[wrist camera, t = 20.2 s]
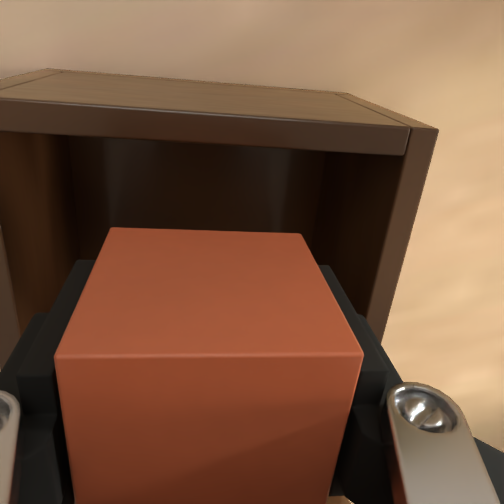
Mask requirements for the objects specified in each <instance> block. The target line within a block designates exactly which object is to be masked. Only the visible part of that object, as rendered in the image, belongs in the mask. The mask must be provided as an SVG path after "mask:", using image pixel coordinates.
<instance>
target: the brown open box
mask: <svg viewBox="0 0 504 504" xmlns="http://www.w3.org/2000/svg"><path fill="white" fill-rule="evenodd" d="M438 133H439V130H438V129H437V128H434V127H432V126H429V125H427V124H424V123H422V122H419V121H417V120H414V119H412V118H409V117H407V116H404V115H401V114H399V113H396V112H394V111H391V110H389V109H386V108H384V107H381V106H379V105H376V104H373V103H371V102H368V101H366V100H363V99H361V98H358V97H356V96H353V95H351V94H348V93H340V92H327V91H315V90H303V89H291V88H279V87H266V86H254V85H242V84H230V83H218V82H206V81H193V80H181V79H169V78H157V77H145V76H132V75H120V74H108V73H96V72H84V71H71V70H59V69H43V70H39V71H35V72H31V73H26V74H22V75H18V76H13V77H9V78H5V79H0V370H2V369H3V367H4V365H5V363H6V362H7V360H8V358H9V357H10V355H11V353H12V351H13V350H14V348H15V346H16V344H17V343H18V341H19V339H20V338H21V336H22V334H23V332H24V331H25V329H26V327H27V325H28V324H29V322H30V320H31V318H32V317H33V316H34V314H36V313H49V312H50V310H51V308H52V306H53V304H54V302H55V300H56V298H57V296H58V294H59V293H60V291H61V289H62V287H63V285H64V283H65V281H66V279H67V277H68V275H69V274H70V272H71V270H72V268H73V266H74V264H75V262H76V261H77V260H97V257H98V255H99V253H100V251H101V248H102V246H103V244H104V242H105V239H106V237H107V235H108V232H109V230H110V228H112V227H118V228H148V229H178V230H209V231H239V232H269V233H299V234H301V235H302V237H303V239H304V241H305V242H306V244H307V246H308V248H309V250H310V252H311V254H312V256H313V258H314V259H315V261H316V263H317V265H329V266H330V268H331V269H332V271H333V273H334V275H335V276H336V278H337V280H338V282H339V283H340V285H341V287H342V289H343V290H344V292H345V294H346V295H347V297H348V299H349V301H350V302H351V304H352V306H353V308H354V309H355V311H356V313H357V314H360V315H363V317H364V318H365V319H366V320H367V322H368V324H369V326H370V327H371V329H372V331H373V332H374V334H375V336H376V337H377V339H378V341H379V342H380V344H381V342H382V338H383V334H384V331H385V327H386V323H387V320H388V316H389V312H390V309H391V305H392V301H393V298H394V294H395V290H396V287H397V283H398V279H399V276H400V272H401V268H402V265H403V261H404V257H405V254H406V250H407V246H408V243H409V239H410V235H411V232H412V228H413V224H414V221H415V217H416V213H417V210H418V206H419V202H420V199H421V195H422V191H423V188H424V184H425V180H426V177H427V173H428V169H429V166H430V162H431V158H432V155H433V151H434V147H435V144H436V140H437V136H438ZM74 504H75V502H74Z"/></svg>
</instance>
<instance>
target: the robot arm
mask: <svg viewBox="0 0 504 504" xmlns="http://www.w3.org/2000/svg"><path fill="white" fill-rule="evenodd" d="M95 262H96V260H77V261H76V262H75V264H74V266H73V268H72V270H71V272H70V274H69V275H68V277H67V279H66V281H65V283H64V285H63V287H62V289H61V291H60V293H59V294H58V296H57V298H56V300H55V302H54V304H53V306H52V308H51V310H50V312H49V313H36V314H34V316H33V317H32V318H31V320H30V322H29V324H28V325H27V327H26V329H25V331H24V332H23V334H22V336H21V338H20V339H19V341H18V343H17V344H16V346H15V348H14V350H13V351H12V353H11V355H10V357H9V358H8V360H7V362H6V363H5V365H4V367H3V369H2V370H1V372H0V504H74V502H75V499H74V492H73V485H72V479H71V472H70V465H69V458H68V451H67V444H66V437H65V431H64V424H63V417H62V410H61V403H60V396H59V389H58V383H57V376H56V369H55V362H54V355H55V353H56V350H57V348H58V346H59V344H60V341H61V339H62V337H63V335H64V332H65V330H66V328H67V325H68V323H69V321H70V319H71V316H72V314H73V312H74V310H75V307H76V305H77V303H78V301H79V298H80V296H81V294H82V291H83V289H84V287H85V285H86V282H87V280H88V278H89V276H90V273H91V271H92V269H93V266H94V264H95ZM318 267H319V269H320V271H321V273H322V275H323V277H324V278H325V280H326V282H327V284H328V286H329V288H330V290H331V292H332V294H333V296H334V297H335V299H336V301H337V303H338V305H339V307H340V309H341V311H342V313H343V314H344V316H345V318H346V320H347V322H348V324H349V326H350V328H351V330H352V332H353V333H354V335H355V337H356V339H357V341H358V343H359V345H360V347H361V349H362V351H363V353H364V357H363V361H362V365H361V369H360V373H359V377H358V381H357V385H356V389H355V393H354V397H353V401H352V405H351V408H350V412H349V416H348V420H347V424H346V428H345V432H344V436H343V440H342V444H341V448H340V452H339V456H338V460H337V464H336V467H335V471H334V475H333V479H332V483H331V487H330V491H329V496H345V497H346V498H347V499H349V500H350V501H351V502H353V503H354V504H504V453H503V452H501V451H499V450H497V449H495V448H493V447H491V446H490V445H488V444H486V443H484V442H482V441H480V440H478V439H476V438H475V437H473V436H472V433H471V431H470V428H469V426H468V424H467V421H466V419H465V416H464V414H463V413H462V411H461V409H460V408H459V406H458V405H457V404H456V403H455V402H454V401H453V400H452V399H451V398H450V397H449V396H447V395H446V394H444V393H443V392H441V391H440V390H438V389H435V388H433V387H431V386H429V385H425V384H421V383H417V382H403V381H402V379H401V378H400V376H399V374H398V373H397V371H396V369H395V368H394V366H393V364H392V363H391V361H390V359H389V357H388V356H387V354H386V352H385V351H384V349H383V347H382V346H381V344H380V342H379V341H378V339H377V337H376V336H375V334H374V332H373V331H372V329H371V327H370V326H369V324H368V322H367V320H366V319H365V318H364V317H363V315H360V314H357V313H356V311H355V309H354V308H353V306H352V304H351V302H350V301H349V299H348V297H347V295H346V294H345V292H344V290H343V289H342V287H341V285H340V283H339V282H338V280H337V278H336V276H335V275H334V273H333V271H332V269H331V268H330V266H329V265H318Z"/></svg>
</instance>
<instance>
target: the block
mask: <svg viewBox="0 0 504 504" xmlns="http://www.w3.org/2000/svg"><path fill="white" fill-rule="evenodd" d="M363 357H364V353H363V351H362V349H361V347H360V345H359V343H358V341H357V339H356V337H355V335H354V333H353V332H352V330H351V328H350V326H349V324H348V322H347V320H346V318H345V316H344V314H343V313H342V311H341V309H340V307H339V305H338V303H337V301H336V299H335V297H334V296H333V294H332V292H331V290H330V288H329V286H328V284H327V282H326V280H325V278H324V277H323V275H322V273H321V271H320V269H319V267H318V265H317V263H316V261H315V259H314V258H313V256H312V254H311V252H310V250H309V248H308V246H307V244H306V242H305V241H304V239H303V237H302V235H301V234H299V233H269V232H239V231H209V230H178V229H148V228H118V227H112V228H110V230H109V232H108V235H107V237H106V239H105V242H104V244H103V246H102V248H101V251H100V253H99V255H98V257H97V260H96V262H95V264H94V266H93V269H92V271H91V273H90V276H89V278H88V280H87V282H86V285H85V287H84V289H83V291H82V294H81V296H80V298H79V301H78V303H77V305H76V307H75V310H74V312H73V314H72V316H71V319H70V321H69V323H68V325H67V328H66V330H65V332H64V335H63V337H62V339H61V341H60V344H59V346H58V348H57V350H56V353H55V355H54V362H55V369H56V376H57V383H58V389H59V396H60V403H61V410H62V417H63V424H64V431H65V437H66V444H67V451H68V458H69V465H70V472H71V479H72V485H73V492H74V499H75V504H326V503H327V499H328V495H329V491H330V487H331V483H332V479H333V475H334V471H335V467H336V464H337V460H338V456H339V452H340V448H341V444H342V440H343V436H344V432H345V428H346V424H347V420H348V416H349V412H350V408H351V405H352V401H353V397H354V393H355V389H356V385H357V381H358V377H359V373H360V369H361V365H362V361H363Z"/></svg>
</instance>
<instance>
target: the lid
mask: <svg viewBox="0 0 504 504" xmlns="http://www.w3.org/2000/svg"><path fill="white" fill-rule="evenodd" d="M326 504H351V503H350V502H349V500H348V499H347V498H346V497H345V496H329V495H328V499H327V503H326Z"/></svg>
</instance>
